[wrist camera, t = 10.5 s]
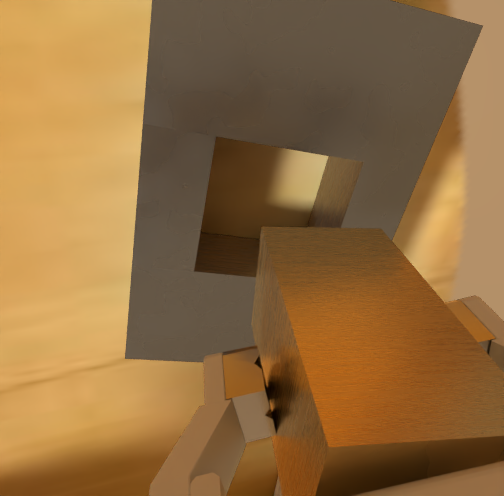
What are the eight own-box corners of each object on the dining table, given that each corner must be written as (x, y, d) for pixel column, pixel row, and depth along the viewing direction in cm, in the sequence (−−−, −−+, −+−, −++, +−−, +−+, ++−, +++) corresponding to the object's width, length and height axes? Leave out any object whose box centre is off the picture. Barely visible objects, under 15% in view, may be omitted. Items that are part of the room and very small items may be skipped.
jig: (318, 323, 27) (337, 368, 24) (133, 310, 24) (124, 358, 21) (428, 23, 19) (483, 25, 15) (163, -48, 16) (157, -64, 13)
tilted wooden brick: (355, 322, 15) (472, 547, 9) (251, 324, 15) (295, 566, 8) (381, 228, 13) (554, 432, 7) (261, 226, 13) (328, 447, 6)
